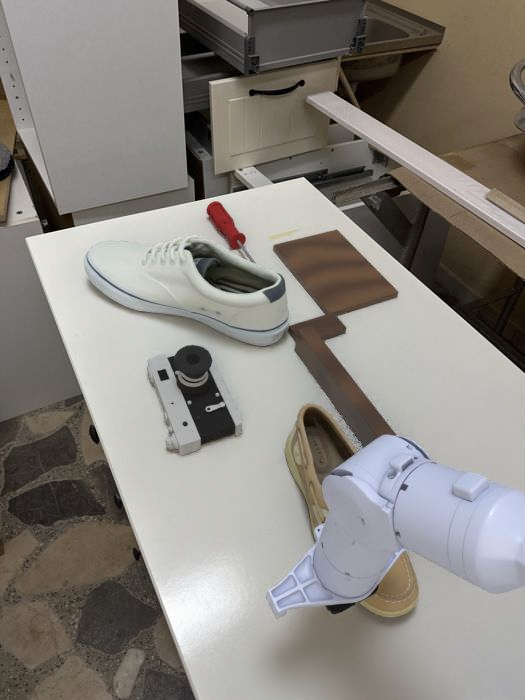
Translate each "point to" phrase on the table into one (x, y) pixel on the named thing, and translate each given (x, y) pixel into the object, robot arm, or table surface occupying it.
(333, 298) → the wooden paddle board
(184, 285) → the sneaker
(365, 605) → the boat shoe
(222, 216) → the screwdriver
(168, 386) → the camera
